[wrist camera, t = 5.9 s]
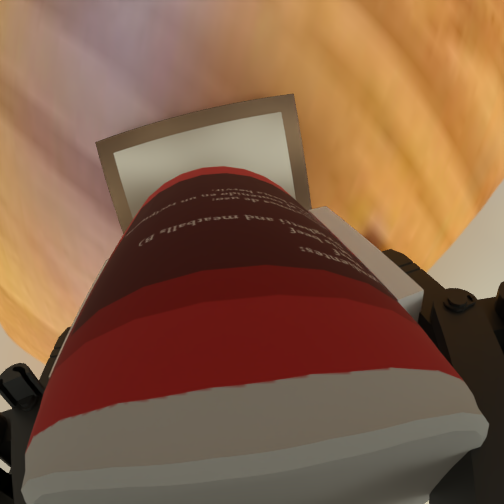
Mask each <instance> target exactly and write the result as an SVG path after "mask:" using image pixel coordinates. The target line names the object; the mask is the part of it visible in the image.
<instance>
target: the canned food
mask: <svg viewBox="0 0 504 504" xmlns="http://www.w3.org/2000/svg"><path fill="white" fill-rule="evenodd" d="M488 428H489V423H488V421H487V420H486V418H485V417H484V416H483V414H482V413H481V411H480V410H479V409H478V406H477V404H476V401H475V398H474V396H473V394H472V392H471V391H470V389H469V388H468V386H467V385H466V383H465V382H464V380H463V379H462V378H461V377H460V375H459V374H458V373H457V372H456V370H455V369H454V368H453V367H452V366H451V364H450V363H449V362H448V361H447V359H446V358H445V357H444V356H443V355H442V353H441V352H440V351H439V350H438V348H437V347H436V346H435V344H434V343H433V342H432V340H431V339H430V338H429V337H428V335H427V334H426V333H425V331H424V330H423V329H422V328H421V326H420V325H419V324H418V323H417V322H416V321H415V320H414V319H413V318H412V316H411V315H410V314H409V313H408V312H407V311H406V310H405V309H404V308H403V307H402V306H401V304H400V303H399V302H398V301H397V300H396V299H395V298H394V297H393V296H392V295H391V294H390V293H389V292H388V291H387V290H386V288H385V287H384V286H383V285H382V284H381V283H380V282H379V281H378V280H377V279H376V278H375V277H374V276H373V275H372V274H371V273H370V272H369V271H368V270H367V269H366V268H365V267H364V266H363V265H362V264H361V263H360V262H359V261H358V260H357V259H356V258H355V257H354V256H353V255H352V254H351V253H350V252H349V251H348V250H347V249H346V248H345V247H344V246H343V245H342V244H341V243H340V242H339V241H338V240H337V239H336V238H335V237H334V236H333V235H332V234H331V233H330V232H329V231H328V230H327V229H326V228H325V227H324V226H323V225H322V224H321V223H320V222H319V221H317V220H316V219H315V218H314V217H313V216H312V215H311V214H310V213H309V212H308V211H307V210H306V209H305V208H304V207H303V206H302V205H300V204H299V203H298V202H297V201H296V200H295V199H294V198H293V197H292V196H291V195H290V194H288V193H287V192H286V191H285V190H284V189H283V188H282V187H281V186H279V185H277V184H276V183H274V182H273V181H271V180H269V179H268V178H266V177H265V176H262V175H260V174H257V173H254V172H251V171H249V170H246V169H241V168H234V167H227V166H218V167H204V168H199V169H196V170H193V171H189V172H186V173H183V174H181V175H179V176H177V177H175V178H173V179H171V180H170V181H168V182H166V183H164V184H163V185H162V186H161V187H160V188H158V189H157V190H156V191H155V192H154V193H153V194H152V195H150V196H149V197H148V199H147V200H146V202H145V203H144V204H143V206H142V207H141V208H140V210H139V211H138V213H137V214H136V216H135V217H134V219H133V220H132V222H131V224H130V225H129V227H128V228H127V230H126V232H125V233H124V235H123V236H122V238H121V240H120V241H119V243H118V245H117V246H116V248H115V250H114V251H113V253H112V255H111V256H110V258H109V260H108V262H107V263H106V265H105V267H104V269H103V270H102V272H101V274H100V276H99V278H98V279H97V281H96V283H95V285H94V287H93V288H92V290H91V292H90V294H89V296H88V298H87V300H86V302H85V304H84V306H83V307H82V309H81V311H80V313H79V315H78V317H77V319H76V321H75V323H74V325H73V328H72V330H71V332H70V334H69V336H68V338H67V340H66V342H65V344H64V347H63V349H62V351H61V353H60V355H59V358H58V360H57V362H56V365H55V367H54V369H53V372H52V374H51V376H50V379H49V381H48V384H47V386H46V389H45V391H44V394H43V397H42V401H41V405H40V409H39V412H38V415H37V418H36V420H35V423H34V426H33V430H32V433H31V436H30V439H29V442H28V446H27V449H26V452H25V470H26V471H25V475H24V480H23V484H22V488H21V492H22V494H23V497H24V500H25V502H26V503H27V504H424V503H426V502H427V501H428V500H429V494H430V493H431V491H432V490H433V489H434V488H435V486H436V485H437V484H438V483H439V482H440V480H441V479H442V478H443V477H444V476H445V475H446V474H447V473H448V471H449V470H450V469H451V468H452V467H453V466H454V465H455V464H456V463H457V462H458V461H459V460H460V459H461V458H462V457H463V456H464V455H465V454H466V453H467V452H469V451H470V450H472V449H475V448H478V447H481V445H482V444H483V442H484V440H485V439H486V437H487V433H488Z"/></svg>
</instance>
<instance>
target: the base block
mask: <svg viewBox="0 0 504 504" xmlns="http://www.w3.org/2000/svg"><path fill="white" fill-rule="evenodd" d="M95 143H96V147H97V150H98V154H99V158H100V161H101V165H102V168H103V172H104V175H105V179H106V182H107V185H108V188H109V192H110V195H111V198H112V201H113V204H114V207H115V210H116V213H117V216H118V219H119V222H120V225H121V228H122V231H123V234H124V233H125V232H126V230H127V228H128V227H129V225H130V224H131V222H132V220H133V219H134V217H135V216H136V214H137V213H138V211H139V210H140V208H141V207H142V206H143V204H144V203H145V202H146V200H147V199H148V197H149V196H150V195H152V194H153V193H154V192H155V191H156V190H157V189H158V188H160V187H161V186H162V185H163V184H164V183H166V182H168V181H170V180H171V179H173V178H175V177H177V176H179V175H181V174H183V173H186V172H189V171H193V170H196V169H199V168H204V167H218V166H227V167H234V168H241V169H246V170H249V171H251V172H254V173H257V174H260V175H262V176H265V177H266V178H268V179H269V180H271V181H273V182H274V183H276V184H277V185H279V186H281V187H282V188H283V189H284V190H285V191H286V192H287V193H288V194H290V195H291V196H292V197H293V198H294V199H295V200H296V201H297V202H298V203H299V204H300V205H302V206H303V207H304V208H305V209H306V210H307V211H308V212H309V210H311V209H312V208H311V200H310V193H309V185H308V178H307V171H306V164H305V158H304V151H303V145H302V139H301V133H300V127H299V121H298V115H297V110H296V104H295V99H294V94H287V95H280V96H273V97H267V98H261V99H255V100H249V101H244V102H238V103H233V104H228V105H223V106H219V107H214V108H210V109H205V110H201V111H197V112H193V113H189V114H185V115H181V116H177V117H173V118H169V119H166V120H162V121H159V122H155V123H152V124H149V125H145V126H142V127H139V128H136V129H133V130H129V131H126V132H123V133H120V134H117V135H115V136H112V137H109V138H106V139H103V140H101V141H98V142H95Z"/></svg>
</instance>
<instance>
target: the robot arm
mask: <svg viewBox="0 0 504 504" xmlns="http://www.w3.org/2000/svg"><path fill="white" fill-rule="evenodd" d="M309 213H310V214H311V215H312V216H313V217H314V218H315V219H316V220H317V221H319V222H320V223H321V224H322V225H323V226H324V227H325V228H326V229H327V230H328V231H329V232H330V233H331V234H332V235H333V236H334V237H335V238H336V239H337V240H338V241H339V242H340V243H341V244H342V245H343V246H344V247H345V248H346V249H347V250H348V251H349V252H350V253H351V254H352V255H353V256H354V257H355V258H356V259H357V260H358V261H359V262H360V263H361V264H362V265H363V266H364V267H365V268H366V269H367V270H368V271H369V272H370V273H371V274H372V275H373V276H374V277H375V278H376V279H377V280H378V281H379V282H380V283H381V284H382V285H383V286H384V287H385V288H386V290H387V291H388V292H389V293H390V294H391V295H392V296H393V297H394V298H395V299H396V300H397V301H398V302H399V303H400V304H401V306H402V307H403V308H404V309H405V310H406V311H407V312H408V313H409V314H410V315H411V316H412V318H413V319H414V320H415V321H416V322H417V323H418V324H419V325H420V326H421V328H422V329H423V330H424V331H425V333H426V334H427V335H428V337H429V338H430V339H431V340H432V342H433V343H434V344H435V346H436V347H437V348H438V350H439V351H440V352H441V353H442V355H443V356H444V357H445V358H446V359H447V361H448V362H449V363H450V364H451V366H452V367H453V368H454V369H455V370H456V372H457V373H458V374H459V375H460V377H461V378H462V379H463V380H464V382H465V383H466V385H467V386H468V388H469V389H470V391H471V392H472V394H473V396H474V398H475V401H476V404H477V406H478V409H479V410H480V411H481V413H482V414H483V416H484V417H485V418H486V420H487V421H488V423H489V428H488V433H487V437H486V439H485V440H484V442H483V444H482V445H481V447H478V448H475V449H472V450H470V451H469V452H467V453H466V454H465V455H464V456H463V457H462V458H461V459H460V460H459V461H458V462H457V463H456V464H455V465H454V466H453V467H452V468H451V469H450V470H449V471H448V473H447V474H446V475H445V476H444V477H443V478H442V479H441V480H440V482H439V483H438V484H437V485H436V486H435V488H434V489H433V490H432V491H431V493H430V494H429V504H504V282H502V283H501V284H500V286H499V289H498V292H497V296H496V297H492V298H486V299H480V300H477V299H476V297H475V296H474V295H473V294H471V293H469V292H468V291H465V290H462V289H458V288H457V289H456V288H449V289H445V288H443V287H442V286H441V285H440V284H439V283H438V282H437V281H435V280H434V279H433V278H432V277H431V276H430V275H428V274H427V273H426V272H425V271H424V270H422V269H420V267H419V266H418V265H416V264H415V263H413V261H411V260H410V259H409V258H408V257H407V256H405V255H404V254H402V253H400V252H397V251H394V250H392V249H389V250H386V251H382V252H381V251H380V250H379V249H377V248H376V247H375V246H374V245H373V244H372V243H370V242H369V241H368V240H367V239H366V238H364V237H363V236H362V235H361V234H360V233H358V232H357V231H356V230H355V229H354V228H352V227H351V226H350V225H349V224H348V223H346V222H345V221H344V220H343V219H341V218H340V217H339V216H338V215H336V214H335V213H334V212H333V211H331V210H330V209H329V208H328V207H326V206H325V207H320V208H316V209H311V210H309ZM108 260H109V259H108ZM108 260H106V262H105V264H104V265H103V267H102V269H101V271H100V272H99V274H98V276H97V278H96V280H95V281H94V283H93V285H92V287H91V289H90V291H89V292H88V294H87V296H86V298H85V300H84V302H83V304H82V306H81V308H80V310H79V312H78V314H77V316H76V318H75V320H74V322H73V324H72V326H71V327H68V328H67V329H66V330H65V331H64V332H63V333H62V334H61V336H60V337H59V338H58V340H57V342H56V344H55V346H54V350H53V351H52V353H51V355H50V358H49V359H48V361H47V364H46V366H45V368H44V371H43V373H42V375H41V377H40V380H38V379H37V378H36V376H35V375H34V374H33V372H32V371H31V370H30V368H29V367H28V366H27V365H26V364H24V363H18V364H14V365H12V366H10V367H9V368H7V369H6V370H5V371H4V372H3V373H2V374H1V375H0V394H1V395H2V397H3V398H4V399H5V400H6V401H7V402H8V403H9V404H10V406H11V407H12V409H10V410H7V411H4V412H0V459H1V460H2V461H4V462H5V463H6V464H7V465H8V466H10V467H11V469H10V472H9V473H6V472H5V471H4V470H3V469H1V468H0V504H27V503H26V502H25V500H24V497H23V494H22V492H21V488H22V484H23V480H24V475H25V471H26V470H25V452H26V449H27V446H28V442H29V439H30V436H31V433H32V430H33V426H34V423H35V420H36V418H37V415H38V412H39V409H40V405H41V401H42V397H43V394H44V391H45V389H46V386H47V384H48V381H49V379H50V376H51V374H52V372H53V369H54V367H55V365H56V362H57V360H58V358H59V355H60V353H61V351H62V349H63V347H64V344H65V342H66V340H67V338H68V336H69V334H70V332H71V330H72V328H73V325H74V323H75V321H76V319H77V317H78V315H79V313H80V311H81V309H82V307H83V306H84V304H85V302H86V300H87V298H88V296H89V294H90V292H91V290H92V288H93V287H94V285H95V283H96V281H97V279H98V278H99V276H100V274H101V272H102V270H103V269H104V267H105V265H106V263H107V262H108Z"/></svg>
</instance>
